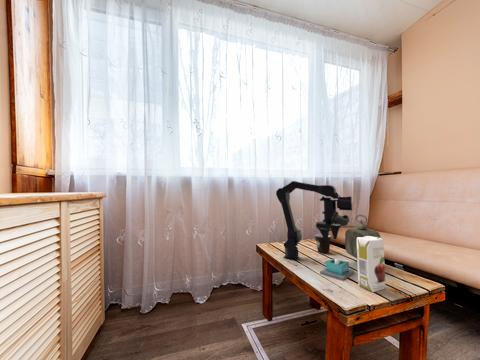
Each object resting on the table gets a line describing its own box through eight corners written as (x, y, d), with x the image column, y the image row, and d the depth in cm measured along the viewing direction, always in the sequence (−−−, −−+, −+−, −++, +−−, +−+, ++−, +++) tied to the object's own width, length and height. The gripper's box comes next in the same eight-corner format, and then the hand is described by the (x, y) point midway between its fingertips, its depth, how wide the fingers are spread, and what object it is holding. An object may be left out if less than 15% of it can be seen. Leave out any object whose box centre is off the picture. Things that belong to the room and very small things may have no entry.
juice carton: (355, 285, 84) (353, 237, 85) (369, 281, 87) (367, 234, 88) (373, 294, 77) (371, 241, 78) (388, 289, 80) (386, 238, 81)
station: (320, 273, 96) (320, 260, 96) (332, 267, 104) (332, 254, 104) (342, 280, 88) (342, 266, 89) (354, 272, 96) (354, 259, 96)
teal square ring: (325, 270, 96) (325, 261, 97) (333, 266, 101) (333, 258, 101) (341, 275, 91) (341, 266, 91) (349, 271, 96) (348, 262, 96)
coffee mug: (332, 254, 123) (332, 237, 123) (317, 254, 125) (316, 236, 125) (328, 249, 134) (328, 233, 135) (314, 248, 136) (313, 232, 137)
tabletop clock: (382, 269, 100) (380, 216, 101) (367, 271, 98) (364, 217, 99) (358, 259, 114) (356, 213, 115) (344, 261, 112) (342, 213, 113)
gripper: (337, 212, 96) (338, 247, 96) (353, 209, 109) (355, 240, 108) (314, 210, 105) (315, 242, 104) (332, 208, 117) (333, 236, 116)
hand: (330, 240), depth 108 cm, fingers open, 9 cm apart
